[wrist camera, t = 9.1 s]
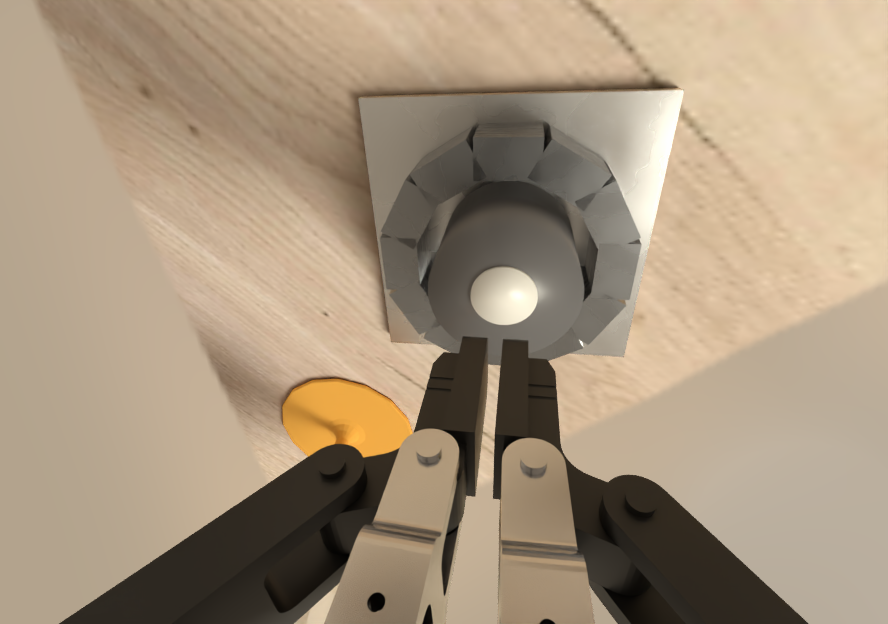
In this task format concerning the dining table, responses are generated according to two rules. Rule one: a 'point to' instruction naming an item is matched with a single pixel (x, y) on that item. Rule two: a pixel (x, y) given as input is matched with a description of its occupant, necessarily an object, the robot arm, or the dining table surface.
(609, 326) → the segmented ring on plate
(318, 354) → the dining table surface
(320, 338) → the dining table surface
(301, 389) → the cup
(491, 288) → the cap
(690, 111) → the dining table surface
